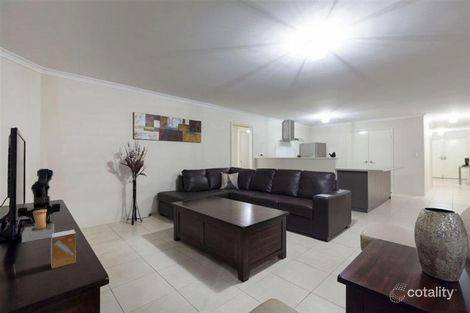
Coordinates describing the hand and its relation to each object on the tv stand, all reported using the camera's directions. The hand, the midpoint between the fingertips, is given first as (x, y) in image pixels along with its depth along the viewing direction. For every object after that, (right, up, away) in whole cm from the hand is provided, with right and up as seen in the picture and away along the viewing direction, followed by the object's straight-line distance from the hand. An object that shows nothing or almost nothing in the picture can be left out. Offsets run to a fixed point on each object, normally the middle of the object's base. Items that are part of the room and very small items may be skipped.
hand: (40, 222), depth 125 cm
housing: (-1, -8, +1) cm, 9 cm away
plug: (-1, -7, +1) cm, 7 cm away
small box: (+38, -8, -31) cm, 50 cm away
